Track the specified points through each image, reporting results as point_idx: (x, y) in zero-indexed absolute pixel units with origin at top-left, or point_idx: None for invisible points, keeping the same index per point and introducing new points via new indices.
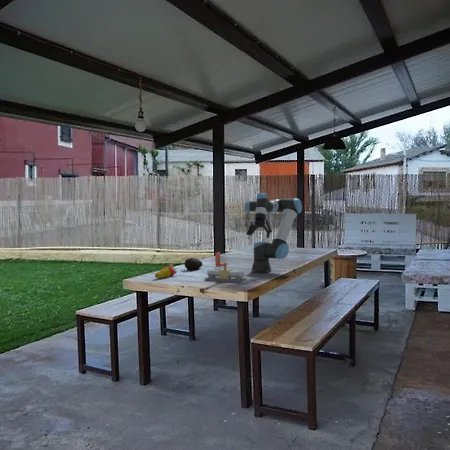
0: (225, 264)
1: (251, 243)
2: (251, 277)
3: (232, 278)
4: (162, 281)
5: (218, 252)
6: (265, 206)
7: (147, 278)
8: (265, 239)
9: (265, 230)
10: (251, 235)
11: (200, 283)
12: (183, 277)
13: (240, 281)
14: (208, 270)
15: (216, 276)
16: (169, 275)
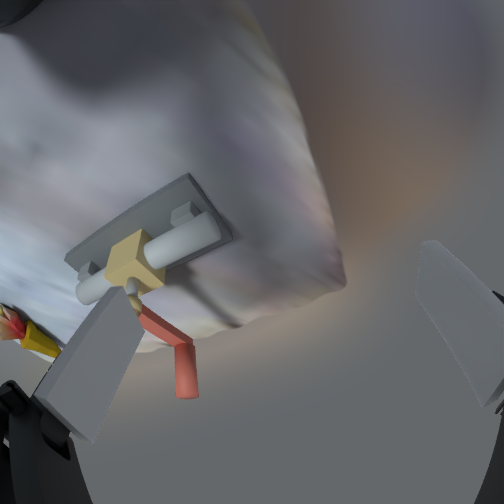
0: (148, 310)
1: (119, 304)
2: (135, 103)
3: (162, 233)
4: None
5: (179, 394)
6: None
7: None
8: (437, 318)
9: (494, 454)
10: (71, 422)
11: None
12: (36, 302)
13: (226, 229)
14: (86, 304)
15: (81, 255)
16: (31, 325)
